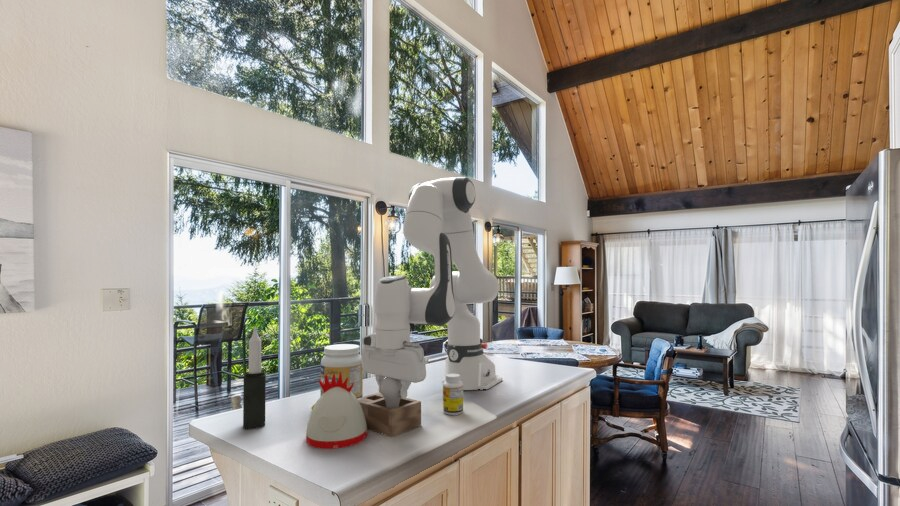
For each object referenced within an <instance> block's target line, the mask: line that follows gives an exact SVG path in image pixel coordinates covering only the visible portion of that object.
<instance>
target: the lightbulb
mask: <svg viewBox="0 0 900 506" xmlns="http://www.w3.org/2000/svg"><path fill="white" fill-rule="evenodd" d="M402 385H403V384H401V380H399V379H394V378H389V377H385V378H384V380H383V381H382V383H381V387H380V390H381V393H382V395H383V397H384V399H385V402H386V407H387V408H391V409H394V408H397V407H399V403H400V399H401V398H400V397H398V390H401V388H402Z"/></svg>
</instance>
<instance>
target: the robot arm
mask: <svg viewBox="0 0 900 506" xmlns="http://www.w3.org/2000/svg"><path fill="white" fill-rule="evenodd" d="M475 201H476V187H475V186H474V183H473V182H472V180H471V179H470V178H469V177H465V176H456V177H443V178H438V179H434V180H430V181H425V182H418V183H417V184H415V185H413V186H412V187H411V189H410V191H409V194H408V203H407V205H406V206H407V207H406V210H405V215H404V219H403V228H402V229H403V231H402V232H403V236H404V238H405V240H406V241H407V243H409V245H411V246H413V247H414V248H416V249H417V250H418V251H421V252H425V253H427V254H429V255H432V256H433V260H434V261H433V262H434V263H433V264H434V275H433V277H432V279H431V280H430V283H429V287H413V286H412V285H409V281H408V277H406V276H404V275H401V274H400V275H399V274H398V275H397V274H396V275H389V276H387V275H386V276H384V277H383V276H382V277H381V278H380V279H378V282H377V283H376V289H375V297H374V299H375V300H374V301H375V302H374V313H375V316H376V321H375V327H374V333H373V332H372V333H371V334H368V335H364V336H362V337H361V345H362V349H361V356H362V358H361V361H362V369H363V373H366V374H370V375H375V381H376V383H377V385H378V392H380V393H381V390H380V387H381V383H382V381H383V380H384V379H385V378H386V377H389V378H394V379H399V380H401V384H403V385H402V388H401V390H398V397H400V398H408V390H409V388H410V386H411V384H412V383H414V384H417V383H421V382H423V381H424V380H425V379H426V377H427V366H426V359H425V354H424V353H425V352H424V348H423V346H422V345H420V343H418V342H411V325H410V324H418V325H430V326H436V327H443V326H445V325H447V344H446V355H447V357H446V359H445V366H444V377H443V378H442V383H444V382H445V381H446V375H447V374H459V375H460V381H461V382H462V383H463V391H473V390H475V391H476V390H478V389H480V390H483V389H486V390H489V389H490V388H492V387H494V386H495V385H497V384H499V383H500V382H501V381H503V377H502V376H500V375H497V374H496V365H495V363H494V362H493V361H492V360H491V359H490V358H489V357H487V355H485V354H484V350H487V349H488V344H487V343H484V342H481V323H480V320H479V318H478V316H476V315H474V314H473V313H472V312H471V311H470V309H469V308H468V305H467V304H485V303H490V302H493V301H494V300H495V299H496V297H497V296H498V295H499V290H500V284H499V281H498V278H497V277H496V275H495V274H494V273H492V272H491V271H490V270H488V268H487V267H486V266H485V265H484V264H483V262H482V261H481V259H480V257H479V255H478V252H477V247H476V241H475V232H474V224H473V220H472V215H471V212H470V211H471V210H470V209H471V208H472V207H473V205H474V204H475ZM453 264H454V266H455V267H456V269H457V270H454V271H453ZM480 390H479V391H480Z"/></svg>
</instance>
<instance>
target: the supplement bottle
mask: <svg viewBox="0 0 900 506" xmlns="http://www.w3.org/2000/svg"><path fill="white" fill-rule="evenodd" d="M442 383H443V384H442V407H443V409H442V410H443V413H444V414H446V415H449V416H457V415H461V414H462V413H463V412H464V390H463V383H462V382H461V381H460V375H459V374H447V375H446V381H445V382H442Z"/></svg>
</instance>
